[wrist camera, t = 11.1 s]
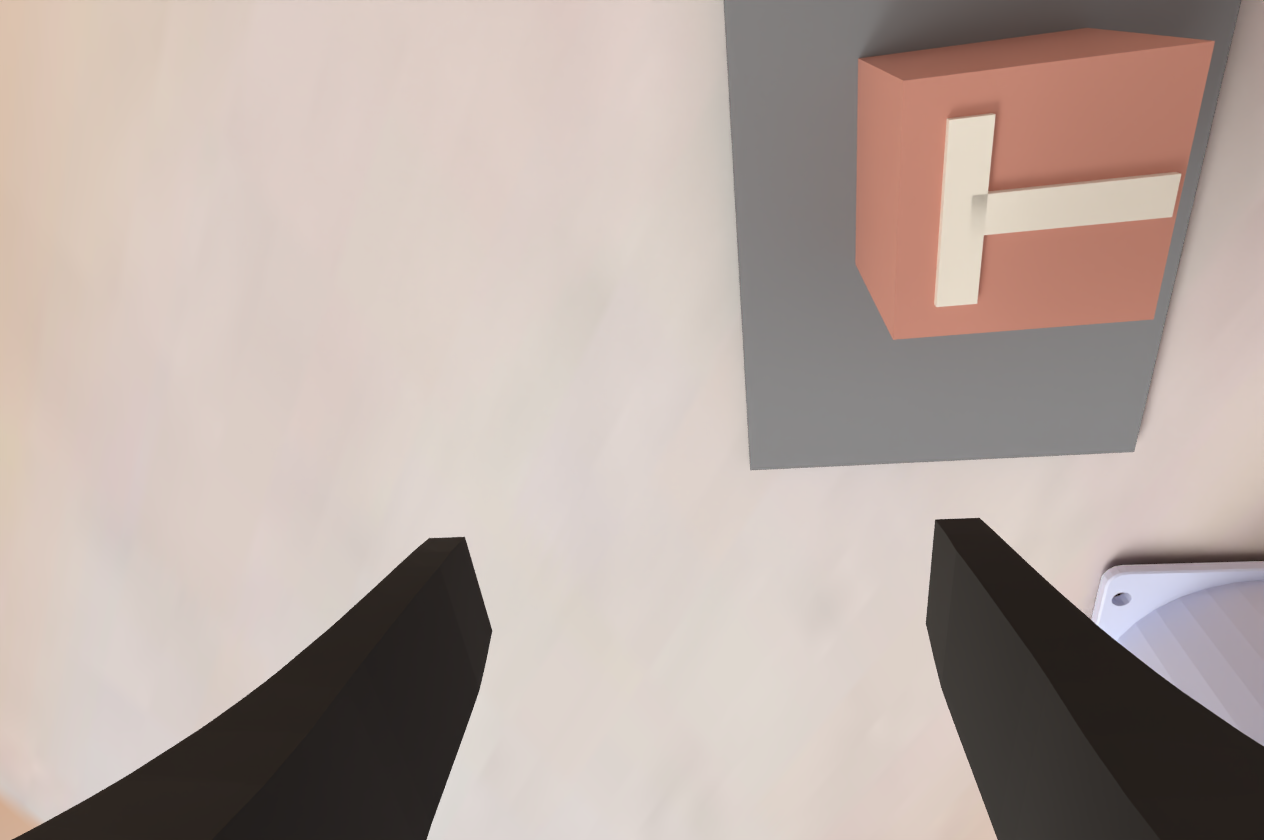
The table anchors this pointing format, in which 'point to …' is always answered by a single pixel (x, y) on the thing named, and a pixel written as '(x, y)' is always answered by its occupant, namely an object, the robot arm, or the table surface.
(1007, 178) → the lettered cube
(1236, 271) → the table surface
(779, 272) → the charcoal mat
